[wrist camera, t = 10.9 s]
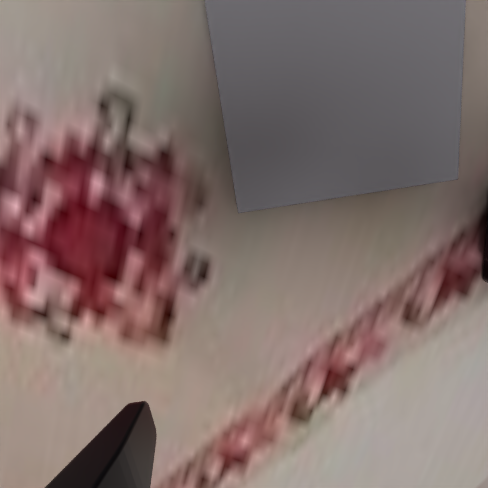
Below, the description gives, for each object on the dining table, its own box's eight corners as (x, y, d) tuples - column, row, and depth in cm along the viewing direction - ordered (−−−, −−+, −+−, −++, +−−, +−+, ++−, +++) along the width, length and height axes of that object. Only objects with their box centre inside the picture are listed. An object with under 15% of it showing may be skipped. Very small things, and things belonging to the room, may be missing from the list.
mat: (448, -77, 16) (470, -100, 14) (441, 176, 19) (458, 179, 18) (199, -36, 16) (196, -53, 14) (237, 208, 19) (238, 213, 18)
